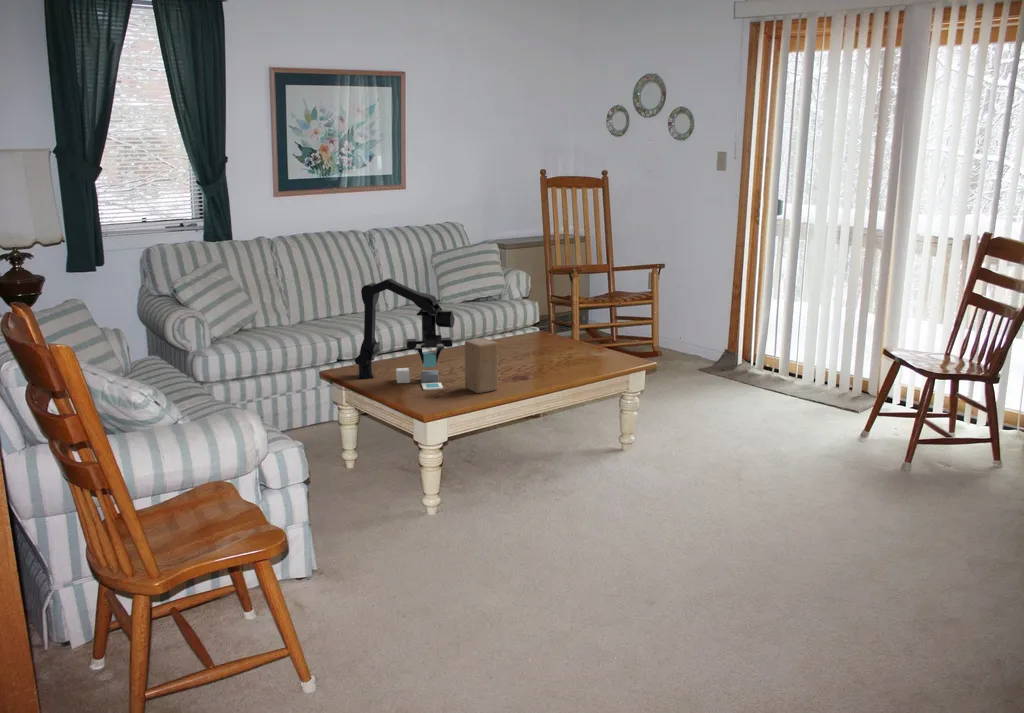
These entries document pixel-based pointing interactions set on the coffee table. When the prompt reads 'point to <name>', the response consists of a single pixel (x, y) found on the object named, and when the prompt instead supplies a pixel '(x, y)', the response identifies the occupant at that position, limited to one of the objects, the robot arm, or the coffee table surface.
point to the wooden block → (481, 365)
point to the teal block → (429, 359)
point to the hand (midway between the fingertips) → (429, 363)
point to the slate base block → (429, 376)
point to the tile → (432, 386)
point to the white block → (402, 375)
